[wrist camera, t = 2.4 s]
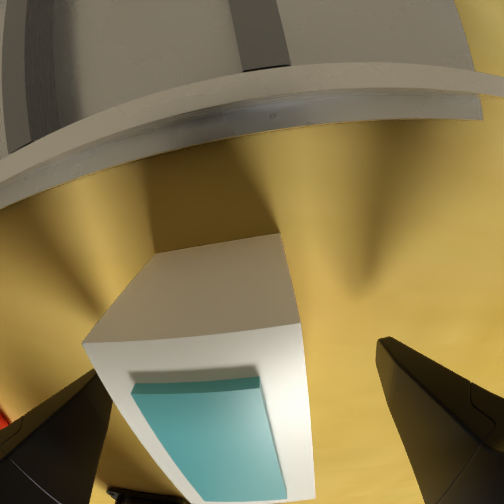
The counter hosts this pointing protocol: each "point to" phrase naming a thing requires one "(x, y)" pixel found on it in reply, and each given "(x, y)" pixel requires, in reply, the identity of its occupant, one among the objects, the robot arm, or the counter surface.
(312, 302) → the counter surface
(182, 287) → the module
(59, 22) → the grey tray
